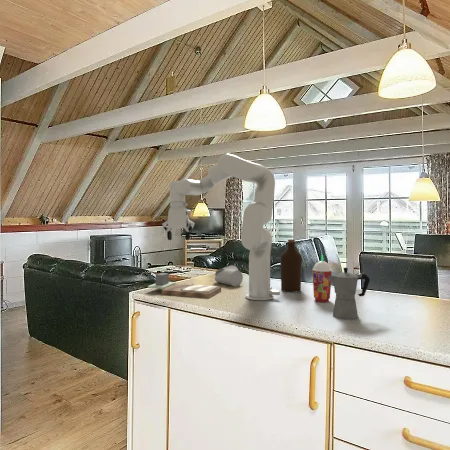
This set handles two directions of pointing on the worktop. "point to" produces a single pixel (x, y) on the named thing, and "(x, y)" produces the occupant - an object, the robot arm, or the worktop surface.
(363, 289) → the coffeepot
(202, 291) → the ticket board
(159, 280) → the stub
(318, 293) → the smoothie
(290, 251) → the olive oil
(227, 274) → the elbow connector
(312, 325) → the worktop surface
